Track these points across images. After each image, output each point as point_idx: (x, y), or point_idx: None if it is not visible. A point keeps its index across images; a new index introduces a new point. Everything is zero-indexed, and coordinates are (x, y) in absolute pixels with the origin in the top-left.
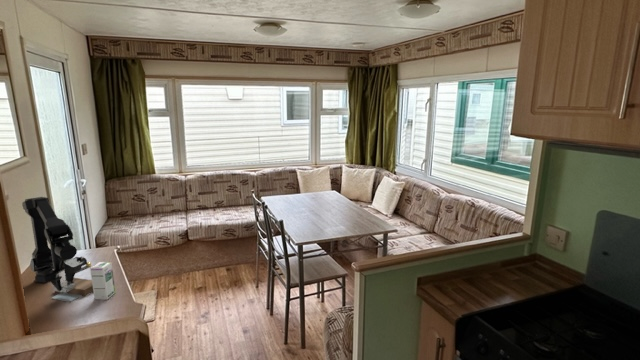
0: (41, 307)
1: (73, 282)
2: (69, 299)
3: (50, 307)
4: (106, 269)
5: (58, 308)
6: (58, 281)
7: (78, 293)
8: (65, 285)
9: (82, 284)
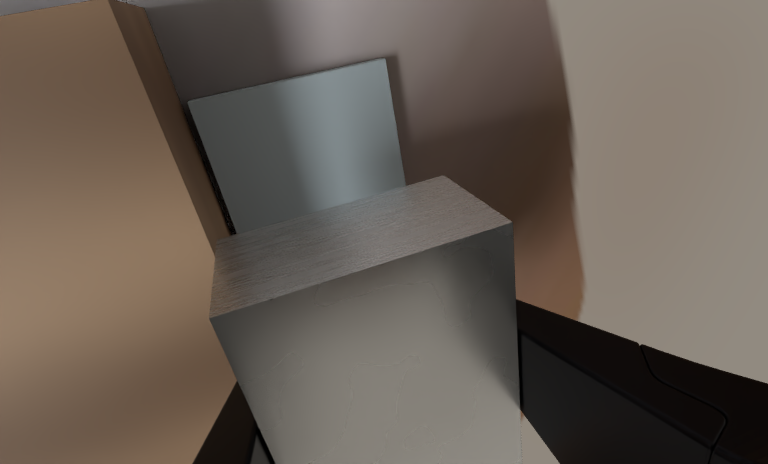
0: (576, 241)
1: (257, 322)
2: (367, 126)
3: (557, 156)
4: None
5: (555, 31)
6: (747, 411)
7: (199, 172)
8: (456, 304)
9: (25, 326)
